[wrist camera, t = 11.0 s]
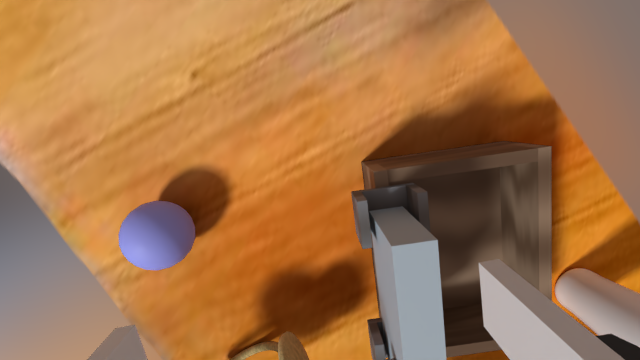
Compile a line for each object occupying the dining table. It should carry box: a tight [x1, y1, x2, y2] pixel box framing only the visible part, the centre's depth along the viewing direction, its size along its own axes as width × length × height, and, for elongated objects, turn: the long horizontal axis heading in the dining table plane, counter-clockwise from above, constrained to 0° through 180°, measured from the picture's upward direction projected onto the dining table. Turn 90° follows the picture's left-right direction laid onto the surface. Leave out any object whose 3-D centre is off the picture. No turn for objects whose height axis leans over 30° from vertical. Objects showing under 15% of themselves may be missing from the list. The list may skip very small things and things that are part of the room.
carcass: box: [351, 141, 552, 360], centre depth 32 cm, size 20×18×11 cm
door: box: [369, 206, 446, 360], centre depth 26 cm, size 14×4×8 cm, turn 8°
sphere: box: [119, 201, 195, 270], centre depth 32 cm, size 7×7×7 cm
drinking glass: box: [555, 268, 640, 348], centre depth 31 cm, size 7×7×15 cm
